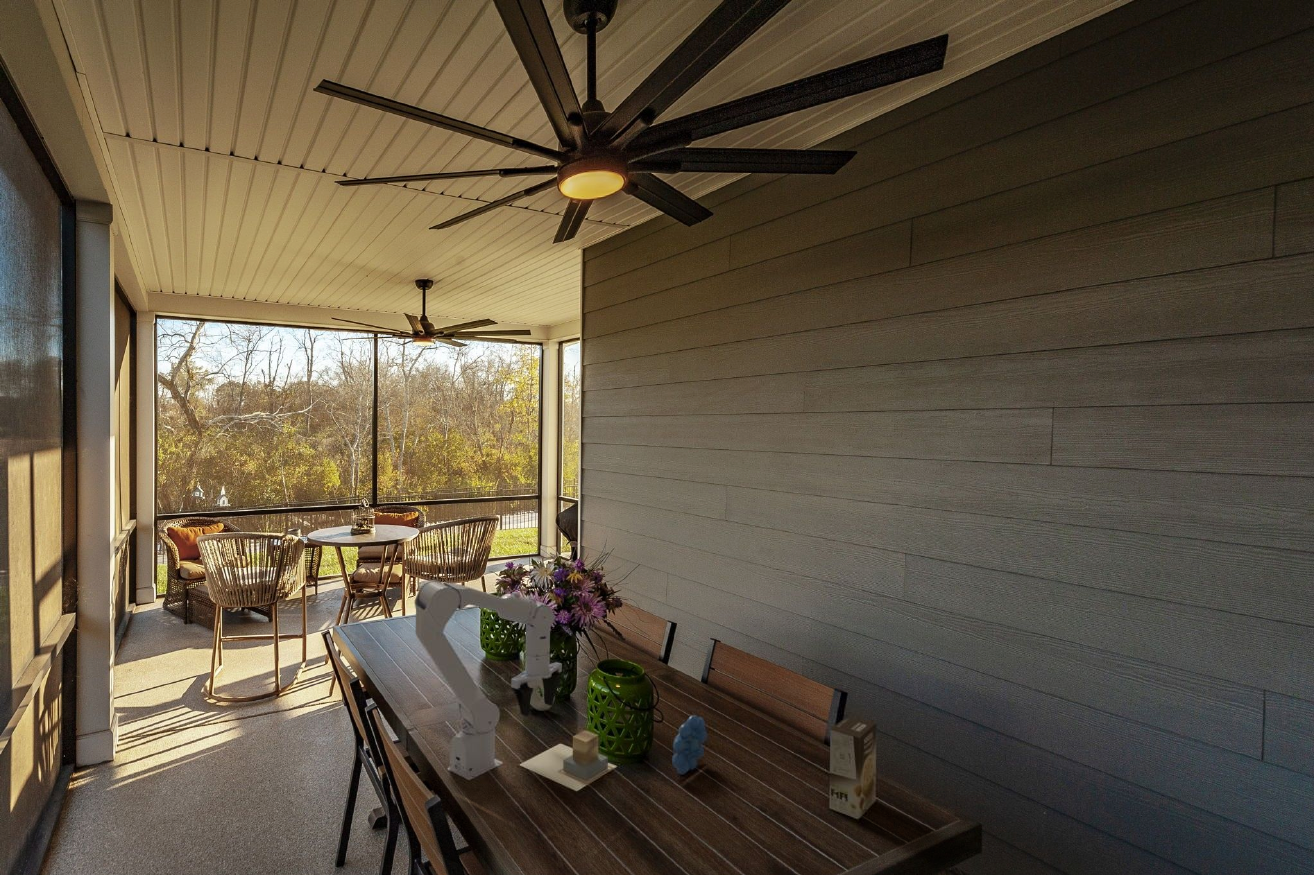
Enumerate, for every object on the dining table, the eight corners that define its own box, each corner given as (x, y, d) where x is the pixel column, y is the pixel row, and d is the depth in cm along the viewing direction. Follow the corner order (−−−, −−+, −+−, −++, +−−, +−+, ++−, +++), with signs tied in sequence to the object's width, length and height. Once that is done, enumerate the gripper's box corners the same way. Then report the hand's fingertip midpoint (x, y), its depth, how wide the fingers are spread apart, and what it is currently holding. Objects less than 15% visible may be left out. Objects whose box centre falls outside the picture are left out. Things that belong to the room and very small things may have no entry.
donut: (522, 707, 176) (523, 671, 177) (531, 703, 179) (532, 668, 179) (548, 716, 171) (548, 679, 171) (557, 712, 173) (558, 675, 174)
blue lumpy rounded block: (689, 755, 150) (690, 704, 150) (713, 764, 146) (713, 711, 146) (658, 774, 141) (659, 720, 141) (682, 785, 137) (683, 729, 137)
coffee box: (859, 821, 124) (859, 738, 124) (828, 809, 128) (829, 729, 129) (876, 801, 131) (876, 723, 132) (846, 790, 135) (847, 714, 136)
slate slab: (586, 781, 137) (586, 769, 137) (563, 771, 141) (563, 760, 141) (607, 768, 142) (607, 757, 142) (584, 759, 146) (585, 748, 147)
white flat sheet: (576, 794, 133) (576, 790, 133) (519, 767, 144) (519, 764, 144) (617, 769, 143) (617, 765, 143) (560, 746, 154) (560, 743, 154)
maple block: (585, 764, 139) (586, 741, 139) (572, 759, 141) (572, 736, 141) (598, 757, 142) (598, 735, 142) (584, 752, 144) (585, 730, 145)
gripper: (526, 664, 145) (525, 724, 144) (570, 648, 156) (570, 703, 156) (505, 658, 149) (504, 716, 149) (550, 643, 161) (550, 697, 160)
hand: (537, 709), depth 153 cm, fingers open, 7 cm apart
